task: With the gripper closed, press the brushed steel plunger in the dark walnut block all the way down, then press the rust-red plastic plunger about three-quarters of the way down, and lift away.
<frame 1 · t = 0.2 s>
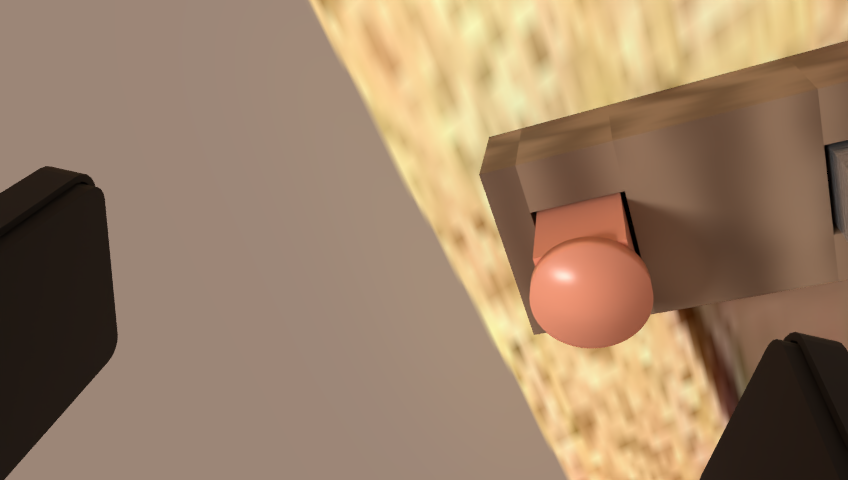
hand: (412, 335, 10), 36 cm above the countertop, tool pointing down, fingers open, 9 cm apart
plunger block: (710, 169, 45), on the countertop
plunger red: (588, 264, 41), point 9 cm above the countertop, slide at 0.0 cm
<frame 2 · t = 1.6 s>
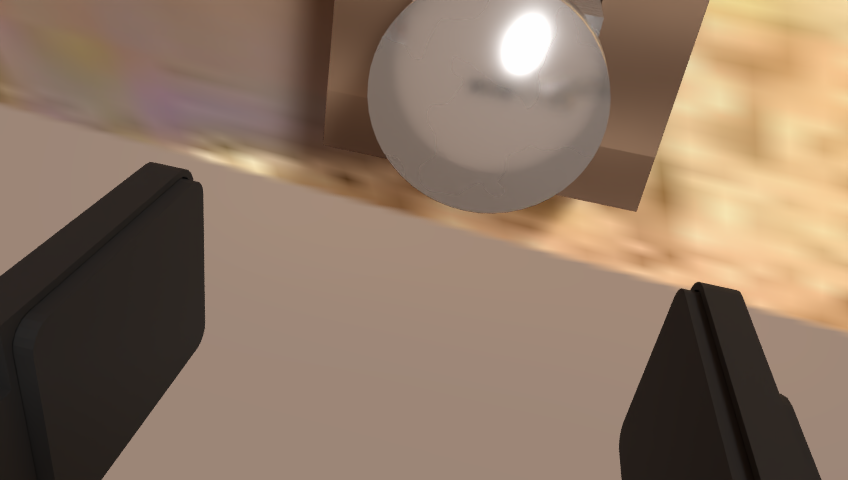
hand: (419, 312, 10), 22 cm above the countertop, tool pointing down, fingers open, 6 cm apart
plunger steel: (497, 67, 22), point 9 cm above the countertop, slide at 0.0 cm
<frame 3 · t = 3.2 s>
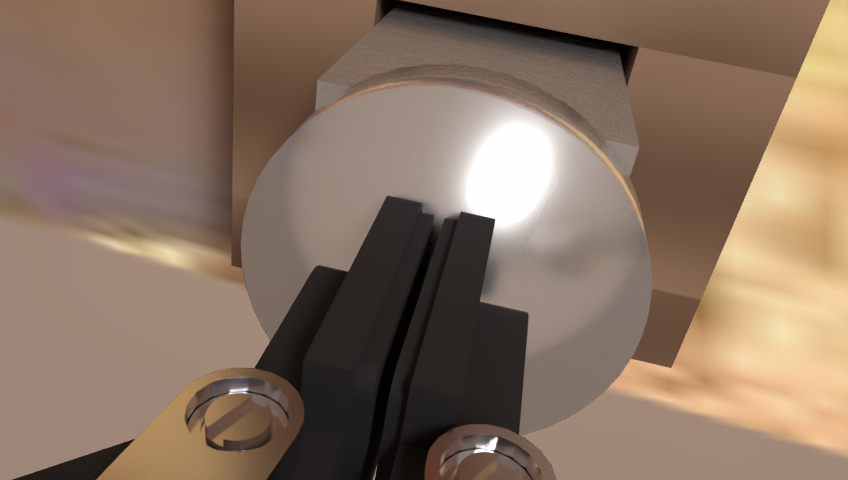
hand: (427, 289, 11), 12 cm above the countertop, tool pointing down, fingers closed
plunger steel: (466, 190, 14), point 9 cm above the countertop, slide at 0.0 cm, touching gripper
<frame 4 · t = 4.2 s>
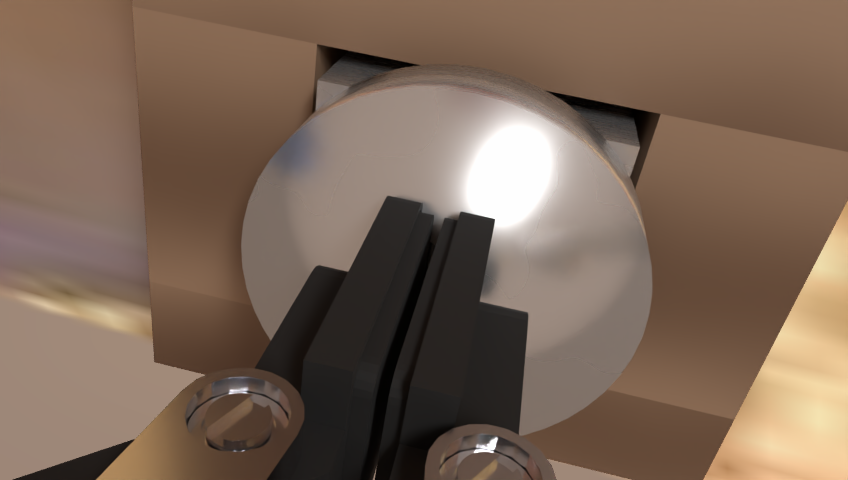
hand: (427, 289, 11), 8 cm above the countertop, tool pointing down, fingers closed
plunger steel: (466, 191, 14), point 4 cm above the countertop, slide at 4.2 cm, touching gripper
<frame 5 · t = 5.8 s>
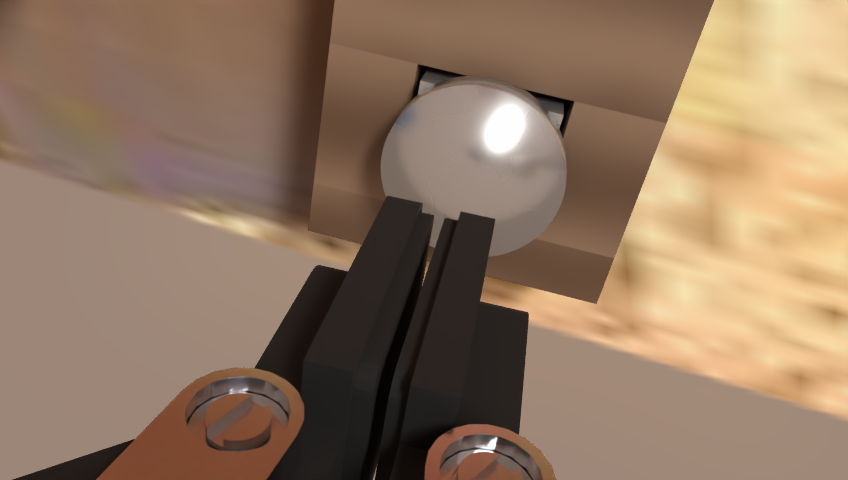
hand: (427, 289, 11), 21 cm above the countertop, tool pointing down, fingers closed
plunger steel: (482, 139, 27), point 4 cm above the countertop, slide at 4.2 cm
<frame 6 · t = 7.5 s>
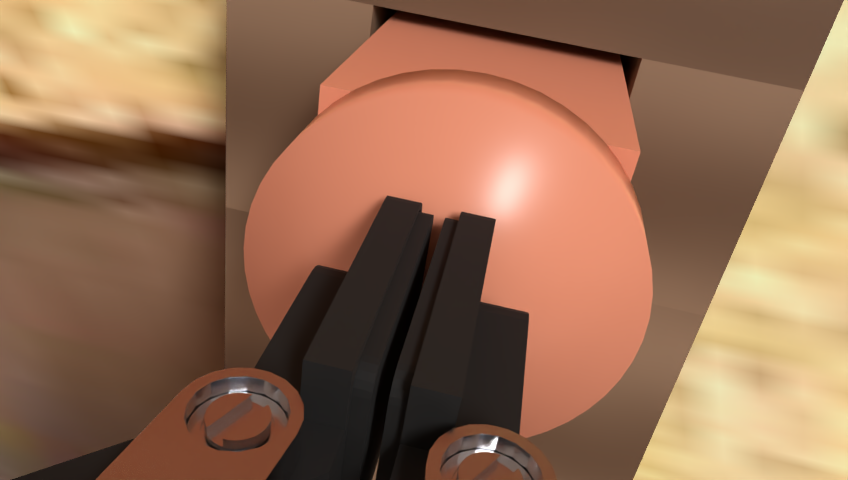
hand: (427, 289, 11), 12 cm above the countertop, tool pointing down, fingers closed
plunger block: (456, 296, 25), on the countertop
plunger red: (468, 194, 14), point 8 cm above the countertop, slide at 0.6 cm, touching gripper
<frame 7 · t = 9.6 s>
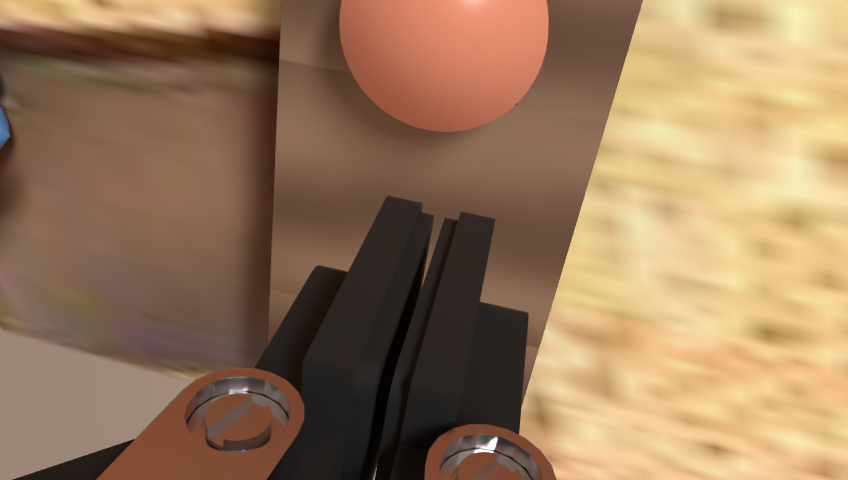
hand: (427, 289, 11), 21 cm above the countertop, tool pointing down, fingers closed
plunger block: (440, 156, 33), on the countertop
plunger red: (455, 7, 25), point 5 cm above the countertop, slide at 3.3 cm
grapes: (17, 114, 36), on the countertop
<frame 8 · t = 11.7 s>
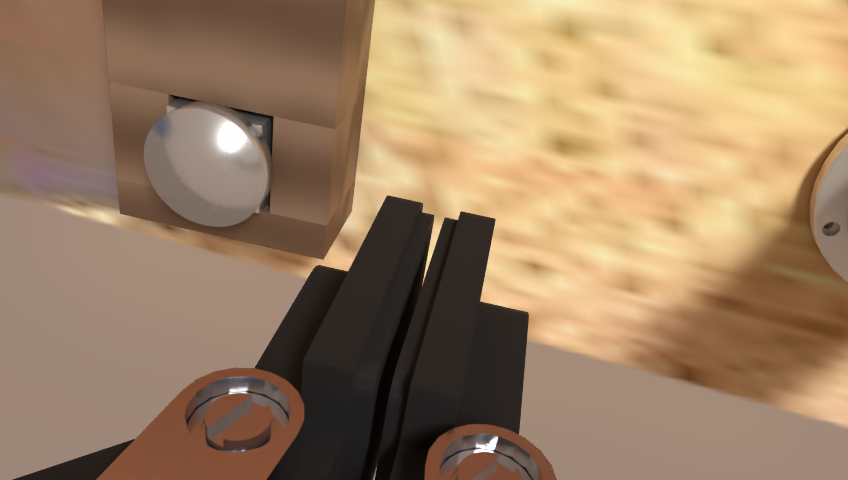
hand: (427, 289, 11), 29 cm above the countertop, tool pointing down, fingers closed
plunger steel: (233, 144, 39), point 4 cm above the countertop, slide at 4.2 cm
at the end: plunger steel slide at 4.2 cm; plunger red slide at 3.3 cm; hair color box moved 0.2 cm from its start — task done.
